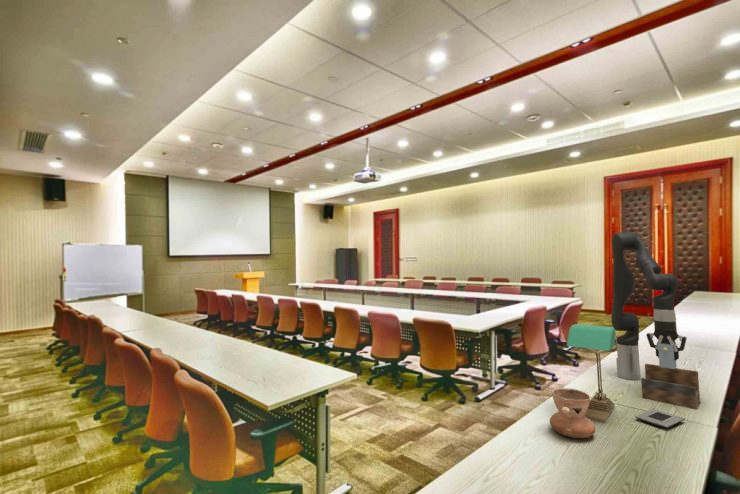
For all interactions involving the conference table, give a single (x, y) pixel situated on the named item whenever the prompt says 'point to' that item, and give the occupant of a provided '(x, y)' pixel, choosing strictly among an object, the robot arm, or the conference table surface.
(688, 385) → the board
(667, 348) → the cabinet block
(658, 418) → the electrical outlet
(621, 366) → the robot arm
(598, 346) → the banker's lamp
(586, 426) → the ceramic jug
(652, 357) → the conference table surface
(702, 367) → the conference table surface
